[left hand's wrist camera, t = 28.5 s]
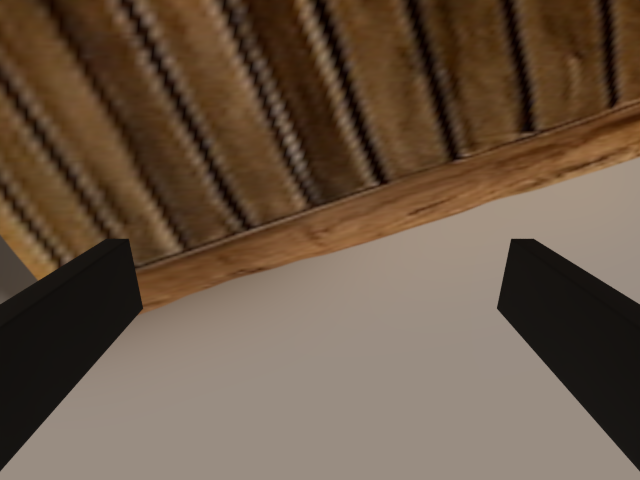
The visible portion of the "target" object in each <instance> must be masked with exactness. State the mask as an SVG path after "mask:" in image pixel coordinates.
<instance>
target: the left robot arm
mask: <svg viewBox="0 0 640 480" xmlns="http://www.w3.org/2000/svg"><path fill="white" fill-rule="evenodd" d="M142 309H143V306H142V301H141V296H140V291H139V286H138V281H137V277H136V272H135V267H134V262H133V257H132V252H131V248H130V243H129V239H105V240H104V241H102V242H101V243H99V244H97V245H96V246H94V247H92V248H91V249H89V250H88V251H86V252H84V253H83V254H81V255H79V256H78V257H76V258H75V259H73V260H71V261H70V262H68V263H67V264H65V265H63V266H62V267H60V268H58V269H57V270H55V271H54V272H52V273H50V274H49V275H47V276H46V277H44V278H42V279H41V280H39V281H37V282H36V283H34V284H33V285H31V286H29V287H28V288H26V289H25V290H23V291H21V292H20V293H18V294H16V295H15V296H13V297H12V298H10V299H8V300H7V301H5V302H4V303H2V304H0V471H1V470H2V469H3V468H4V466H5V465H6V464H7V463H8V462H9V461H10V460H11V458H12V457H13V456H14V455H15V454H16V453H17V452H18V450H19V449H20V448H21V447H22V446H23V445H24V444H25V442H26V441H27V440H28V439H29V438H30V437H31V436H32V434H33V433H34V432H35V431H36V430H37V429H38V428H39V426H40V425H41V424H42V423H43V422H44V421H45V420H46V419H47V417H48V416H49V415H50V414H51V413H52V412H53V411H54V409H55V408H56V407H57V406H58V405H59V404H60V403H61V401H62V400H63V399H64V398H65V397H66V396H67V395H68V393H69V392H70V391H71V390H72V389H73V388H74V387H75V385H76V384H77V383H78V382H79V381H80V380H81V379H82V377H83V376H84V375H85V374H86V373H87V372H88V371H89V369H90V368H91V367H92V366H93V365H94V364H95V363H96V361H97V360H98V359H99V358H100V357H101V356H102V355H103V354H104V352H105V351H106V350H107V349H108V348H109V347H110V346H111V344H112V343H113V342H114V341H115V340H116V339H117V338H118V336H119V335H120V334H121V333H122V332H123V331H124V330H125V328H126V327H127V326H128V325H129V324H130V323H131V322H132V320H133V319H134V318H135V317H136V316H137V315H138V314H139V313H140V311H141V310H142ZM497 309H498V310H499V311H500V312H501V314H502V315H503V316H504V317H505V318H506V319H507V320H508V322H509V323H510V324H511V325H512V326H513V327H514V328H515V330H516V331H517V332H518V333H519V334H520V335H521V336H522V338H523V339H524V340H525V341H526V342H527V343H528V344H529V346H530V347H531V348H532V349H533V350H534V351H535V352H536V354H537V355H538V356H539V357H540V358H541V359H542V360H543V362H544V363H545V364H546V365H547V366H548V367H549V368H550V370H551V371H552V372H553V373H554V374H555V375H556V376H557V377H558V379H559V380H560V381H561V382H562V383H563V384H564V385H565V387H566V388H567V389H568V390H569V391H570V392H571V393H572V395H573V396H574V397H575V398H576V399H577V400H578V401H579V403H580V404H581V405H582V406H583V407H584V408H585V409H586V411H587V412H588V413H589V414H590V415H591V416H592V417H593V419H594V420H595V421H596V422H597V423H598V424H599V425H600V426H601V428H602V429H603V430H604V431H605V432H606V433H607V434H608V436H609V437H610V438H611V439H612V440H613V441H614V442H615V444H616V445H617V446H618V447H619V448H620V449H621V450H622V452H623V453H624V454H625V455H626V456H627V457H628V458H629V460H630V461H631V462H632V463H633V464H634V465H635V466H636V467H637V469H638V470H639V471H640V304H638V303H637V302H635V301H633V300H632V299H630V298H628V297H627V296H625V295H624V294H622V293H620V292H619V291H617V290H615V289H614V288H612V287H611V286H609V285H607V284H606V283H604V282H603V281H601V280H599V279H598V278H596V277H594V276H593V275H591V274H590V273H588V272H586V271H585V270H583V269H582V268H580V267H578V266H577V265H575V264H573V263H572V262H570V261H569V260H567V259H565V258H564V257H562V256H561V255H559V254H557V253H556V252H554V251H552V250H551V249H549V248H547V247H546V246H544V245H543V244H541V243H539V242H538V241H536V240H535V239H511V243H510V248H509V252H508V257H507V262H506V267H505V272H504V277H503V281H502V286H501V291H500V296H499V301H498V306H497Z"/></svg>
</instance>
